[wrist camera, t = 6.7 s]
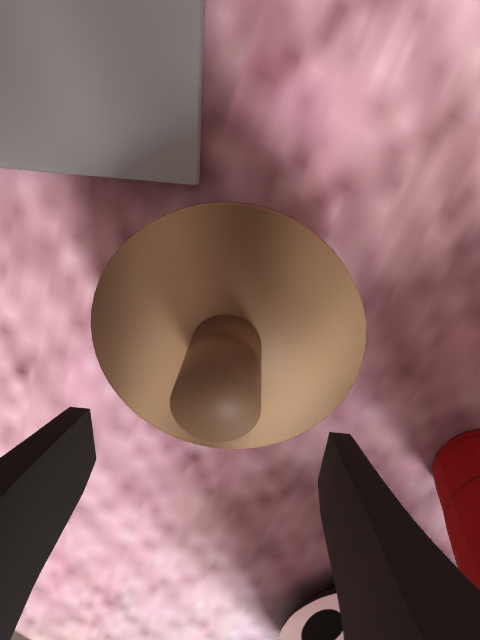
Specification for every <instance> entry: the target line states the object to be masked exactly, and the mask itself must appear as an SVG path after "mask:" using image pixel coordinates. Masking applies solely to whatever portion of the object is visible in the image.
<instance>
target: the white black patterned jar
mask: <svg viewBox="0 0 480 640" xmlns="http://www.w3.org/2000/svg"><path fill="white" fill-rule="evenodd" d="M278 640H344V636H343V628H342V620H341V614H340V609H339V603H338V597H337V593H336V588H334V589H330V590H326V591H323V592H321V593H319V594H318V595H316V596H315V597H313V598H312V599H310V600H308V601H306V602H305V603H303V604H301V605H300V606H299V607H298V608H296V609H295V610H294V611H293V612H292V613H291V615H290V616H289V617H288V619H287V620H286V622H285V623H284V625H283V627H282V629H281V632H280V635H279V638H278Z"/></svg>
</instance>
